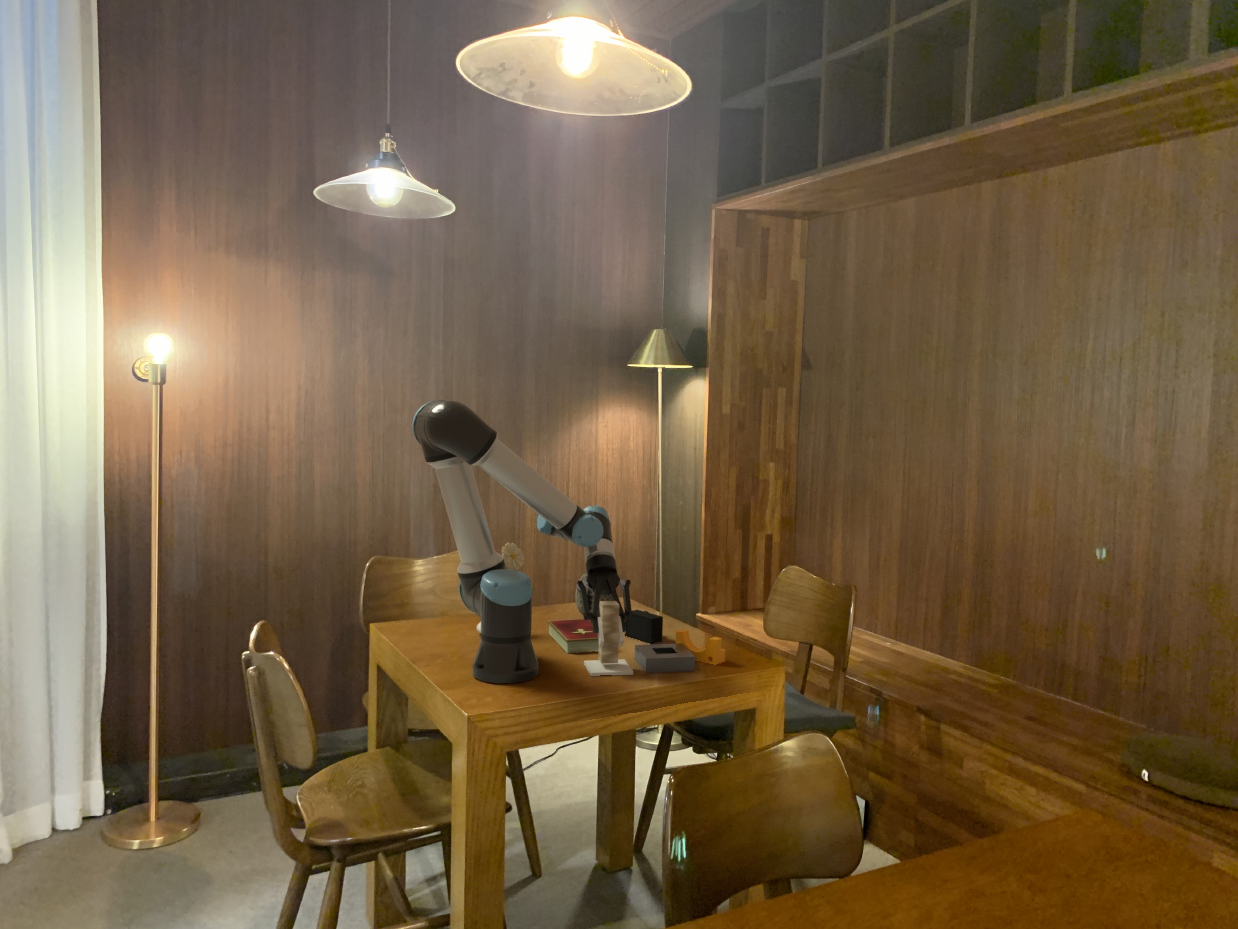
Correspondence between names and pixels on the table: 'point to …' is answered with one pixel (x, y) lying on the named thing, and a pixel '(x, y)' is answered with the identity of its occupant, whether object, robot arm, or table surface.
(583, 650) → the hardcover book
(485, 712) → the table surface
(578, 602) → the decorative egg
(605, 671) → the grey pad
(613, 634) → the birch peg
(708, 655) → the pipe clamp
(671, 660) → the socket block
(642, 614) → the black rectangular block
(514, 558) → the flower in vase
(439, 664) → the table surface
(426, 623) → the table surface
